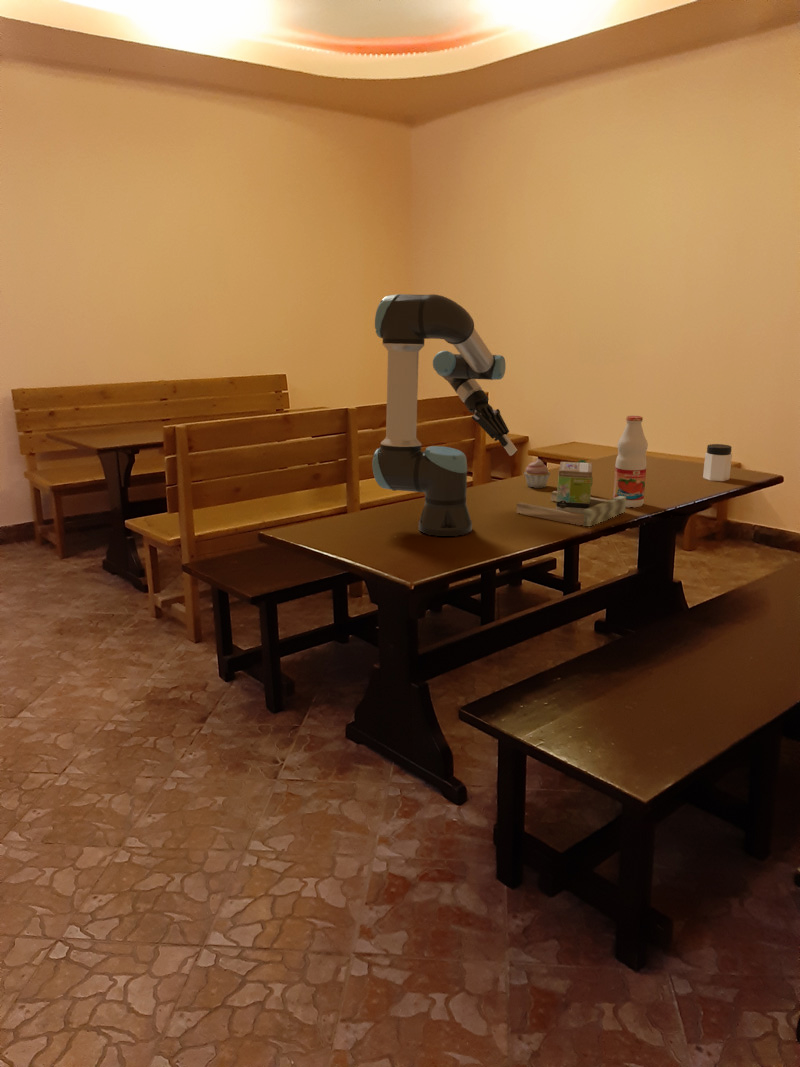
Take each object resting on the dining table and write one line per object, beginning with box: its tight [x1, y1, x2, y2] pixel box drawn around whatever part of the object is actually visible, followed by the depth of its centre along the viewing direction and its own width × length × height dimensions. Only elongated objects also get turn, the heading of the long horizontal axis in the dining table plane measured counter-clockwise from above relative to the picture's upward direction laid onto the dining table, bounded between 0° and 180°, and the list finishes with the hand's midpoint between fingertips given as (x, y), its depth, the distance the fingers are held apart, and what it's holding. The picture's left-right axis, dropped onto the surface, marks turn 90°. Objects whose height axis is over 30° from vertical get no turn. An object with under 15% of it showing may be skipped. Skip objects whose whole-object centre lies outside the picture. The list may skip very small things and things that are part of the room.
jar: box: [702, 443, 733, 482], centre depth 298 cm, size 9×8×12 cm
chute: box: [516, 490, 627, 527], centre depth 254 cm, size 22×25×5 cm
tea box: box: [555, 461, 593, 514], centre depth 253 cm, size 15×10×15 cm, turn 167°
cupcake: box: [523, 457, 551, 489], centre depth 288 cm, size 9×9×10 cm
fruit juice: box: [612, 415, 648, 508], centre depth 261 cm, size 9×9×28 cm
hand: (513, 452), depth 265 cm, fingers closed
